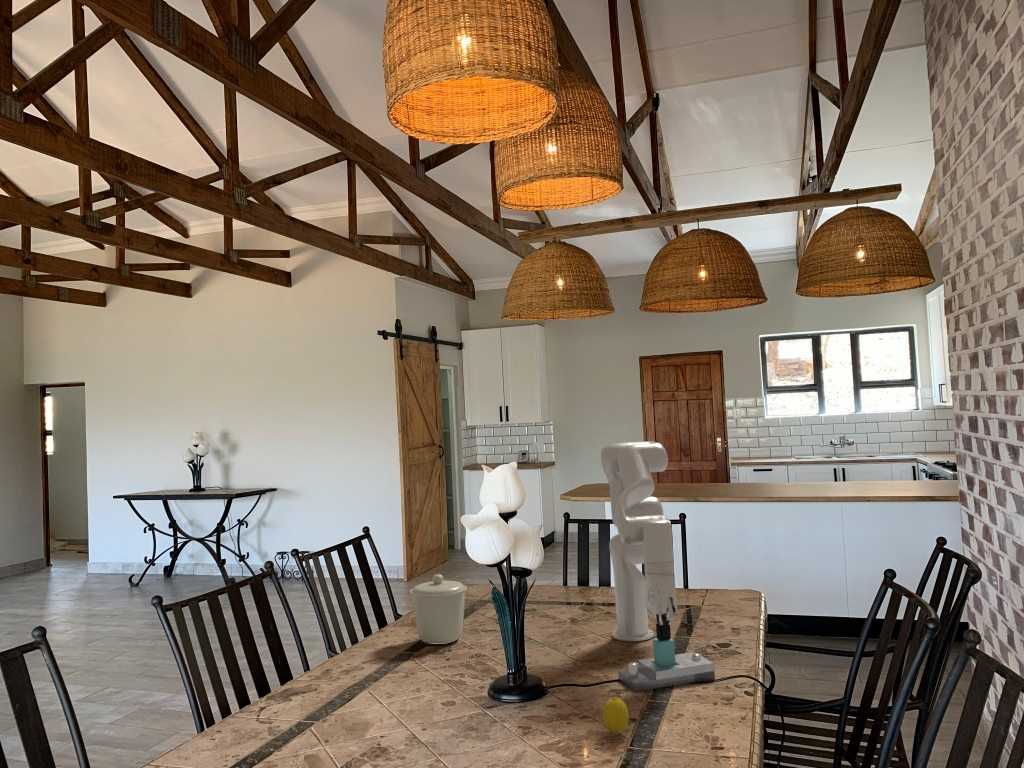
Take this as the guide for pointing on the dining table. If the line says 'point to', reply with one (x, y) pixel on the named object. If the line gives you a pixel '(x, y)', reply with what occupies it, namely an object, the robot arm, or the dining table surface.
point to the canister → (439, 609)
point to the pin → (664, 652)
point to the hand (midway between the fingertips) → (663, 639)
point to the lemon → (615, 715)
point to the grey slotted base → (667, 672)
